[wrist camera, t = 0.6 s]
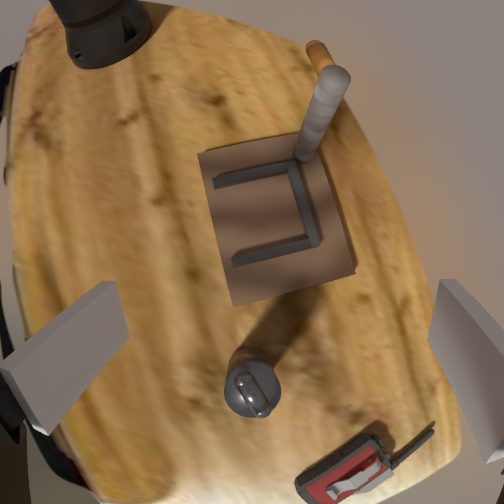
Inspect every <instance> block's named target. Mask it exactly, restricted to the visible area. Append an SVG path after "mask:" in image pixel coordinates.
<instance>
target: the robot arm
mask: <svg viewBox="0 0 504 504" xmlns="http://www.w3.org/2000/svg"><path fill="white" fill-rule="evenodd" d="M49 1H50V3H51V5H52V6H53V8H54V10H55V12H56V13H57V15H58V17H59V18H60V20H61V22H62V24H63V25H64V27H65V34H66V43H67V51H68V54H69V57H70V58H71V60H72V61H73V63H74V64H75V65H76V66H77V67H79V68H82V69H97V68H102V67H106V66H109V65H111V64H114V63H116V62H118V61H120V60H122V59H124V58H126V57H127V56H129V55H130V54H132V53H133V52H134V51H136V50H137V49H138V48H139V47H140V46H141V45H142V44H143V43H144V42H145V41H146V40H147V38H148V37H149V35H150V33H151V29H152V23H151V20H150V17H149V14H148V12H147V11H146V10H145V8H144V7H143V6H142V5H141V4H140V3H139V2H138V1H137V0H49ZM129 337H130V334H129V331H128V327H127V324H126V320H125V316H124V313H123V309H122V305H121V301H120V297H119V293H118V289H117V285H116V282H112V281H102V282H100V283H99V284H98V285H96V286H95V287H94V288H92V289H91V290H90V291H88V292H87V293H86V294H85V295H83V296H82V297H81V298H79V299H78V300H77V301H75V302H74V303H73V304H72V305H70V306H69V307H68V308H66V309H65V310H64V311H63V312H61V313H60V314H59V315H58V316H56V317H55V318H54V319H53V320H51V321H50V322H49V323H48V324H46V325H45V326H44V327H43V328H41V329H40V330H39V331H38V332H37V333H35V334H34V335H33V336H32V337H31V338H29V339H28V340H27V341H26V342H25V343H23V344H22V345H21V346H20V347H19V348H18V349H16V350H15V351H14V352H13V353H12V354H11V355H9V356H8V357H7V358H6V359H5V360H4V361H2V362H1V363H0V504H31V498H30V489H29V479H28V464H27V430H26V426H25V424H24V423H23V420H24V419H25V418H26V417H27V418H28V420H29V421H30V423H31V424H32V426H33V427H34V429H36V430H38V431H40V432H42V433H44V434H46V435H48V436H49V435H50V434H51V432H52V431H53V430H54V428H55V427H56V426H57V425H58V423H59V422H60V421H61V419H62V418H63V417H64V416H65V414H66V413H67V412H68V411H69V409H70V408H71V407H72V406H73V404H74V403H75V402H76V401H77V399H78V398H79V397H80V396H81V394H82V393H83V392H84V391H85V390H86V388H87V387H88V386H89V385H90V383H91V382H92V381H93V380H94V378H95V377H96V376H97V375H98V374H99V372H100V371H101V370H102V369H103V368H104V366H105V365H106V364H107V363H108V362H109V360H110V359H111V358H112V357H113V356H114V354H115V353H116V352H117V351H118V350H119V348H120V347H121V346H122V345H123V344H124V343H125V341H126V340H127V339H128V338H129ZM427 340H428V342H429V344H430V346H431V348H432V350H433V351H434V353H435V355H436V357H437V359H438V361H439V363H440V365H441V367H442V369H443V371H444V373H445V374H446V376H447V378H448V380H449V383H450V385H451V387H452V389H453V391H454V393H455V395H456V397H457V399H458V401H459V403H460V406H461V408H462V410H463V412H464V414H465V417H466V419H467V421H468V424H469V426H470V428H471V431H472V433H473V435H474V438H475V440H476V442H477V445H478V447H479V450H480V453H481V455H482V458H483V461H484V463H485V464H487V463H489V462H492V461H495V460H498V459H500V458H503V457H504V330H503V329H502V327H501V326H500V325H499V324H498V323H497V322H496V321H495V320H494V319H493V317H492V316H491V315H490V314H489V313H488V312H487V311H486V310H485V309H484V308H483V307H482V306H481V304H480V303H479V302H478V301H477V300H476V299H475V298H474V297H473V296H472V295H471V294H470V293H469V292H468V291H467V290H466V289H465V288H464V287H463V286H462V285H461V284H460V283H459V282H458V281H457V280H456V279H440V280H439V284H438V290H437V296H436V301H435V306H434V311H433V316H432V321H431V325H430V330H429V334H428V338H427ZM501 474H502V475H504V469H503V471H502V472H501ZM496 504H504V486H503V488H502V490H501V493H500V496H499V498H498V500H497V503H496Z"/></svg>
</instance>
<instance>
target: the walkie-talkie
mask: <svg viewBox="0 0 504 504" xmlns="http://www.w3.org/2000/svg"><path fill="white" fill-rule="evenodd" d="M433 434H434V430H433V429H430V430H429V431H428V432H426V433H425V434H424V435H423V436H422V437H421V438H420V439H419V440H417V441H416V442H415V443H414V444H413V445H412V446H411V447H409V448H408V449H407V450H406V451H405V452H403V453H402V454H401V455H400V456H398V457H397V458H396V459H393V460H392V461H391V462H389V461H388V460H389V458H390V457H391V456H390V455H389V454H388V453H385V454H383V452H382V451H381V450H380V448H382V447H383V446H384V443H383V442H382V441H381V440H380V438H379V437H378V436H377V435H374V436H373V439H372V438H371V437H370V436H369V435H368V434H367V433H363V434H361V435H360V436H359V437H357V438H356V439H355V440H353V441H352V442H350V443H349V444H348V445H346V446H345V447H343V448H342V449H340V450H339V451H338V452H336V453H335V454H334V455H332V456H331V457H330V458H328V459H327V460H324V461H323V462H321V463H320V464H319V465H317V466H316V467H313V468H312V469H310V470H309V471H306V473H303V474H302V475H301V476H299V477H296V479H295V482H294V484H295V487H296V490H297V493H298V494H299V496H300V497H301V498H302V499H303V500H305V501H306V502H307V503H308V504H337V503H339V502H340V501H342V500H344V499H346V498H347V497H349V496H350V495H354V494H359V493H364V492H369V491H371V490H373V489H374V488H376V487H377V486H378V485H380V484H381V483H383V482H384V481H385V480H387V479H388V478H390V477H392V476H393V475H394V473H393V472H392V470H394V469H395V468H396V467H397V466H399V464H400V463H401V462H402V461H404V460H405V459H406V458H407V457H408V456H410V455H411V454H412V453H413V452H414V451H416V450H417V449H418V448H419V447H420V446H421V445H422V444H424V443H425V442H426V441H427V440H428V439H429V438H430V437H431V436H432V435H433ZM379 447H380V448H379Z"/></svg>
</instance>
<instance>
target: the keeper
mask: <svg viewBox="0 0 504 504" xmlns="http://www.w3.org/2000/svg"><path fill="white" fill-rule="evenodd" d="M306 53H307V55H308V57H309V59H310V61H311V63H312V65H313V67H314V69H315V71H316V73H317V75H318V77H319V79H318V82H317V85H316V88H315V90H314V93H313V96H312V99H311V102H310V105H309V107H308V110H307V113H306V116H305V119H304V122H303V124H302V127H301V130H300V133H296V134H290V135H284V136H278V137H272V138H267V139H262V140H257V141H252V142H247V143H242V144H237V145H232V146H228V147H223V148H219V149H215V150H210V151H206V152H202V153H198V154H197V155H198V159H199V164H200V169H201V173H202V178H203V182H204V187H205V191H206V196H207V200H208V204H209V209H210V213H211V217H212V222H213V226H214V230H215V235H216V239H217V243H218V247H219V251H220V255H221V260H222V264H223V268H224V272H225V276H226V280H227V284H228V288H229V292H230V296H231V300H232V304H233V307H235V306H239V305H244V304H247V303H251V302H255V301H259V300H263V299H267V298H271V297H275V296H279V295H282V294H286V293H290V292H293V291H297V290H301V289H304V288H308V287H312V286H315V285H319V284H322V283H326V282H329V281H333V280H336V279H340V278H343V277H347V276H350V275H354V274H356V273H355V269H354V265H353V262H352V258H351V254H350V251H349V247H348V244H347V240H346V237H345V233H344V230H343V227H342V223H341V220H340V217H339V213H338V210H337V207H336V204H335V201H334V198H333V195H332V191H331V188H330V185H329V182H328V179H327V176H326V174H325V171H324V168H323V165H322V162H321V159H320V156H319V154H318V151H317V147H318V146H319V144H320V142H321V140H322V138H323V136H324V134H325V132H326V130H327V128H328V126H329V124H330V122H331V120H332V118H333V116H334V114H335V112H336V110H337V108H338V106H339V104H340V102H341V100H342V98H343V96H344V94H345V92H346V90H347V88H348V86H349V84H350V82H351V77H350V75H349V73H348V72H347V71H346V70H345V69H344V68H342V67H340V66H337V65H336V64H335V63H334V61H333V59H332V57H331V55H330V53H329V52H328V50H327V48H326V46H325V45H324V44H323V43H322V42H320V41H317V40H313V41H310V42H309V43H308V44H307V45H306Z"/></svg>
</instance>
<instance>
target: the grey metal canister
mask: <svg viewBox="0 0 504 504" xmlns="http://www.w3.org/2000/svg"><path fill="white" fill-rule="evenodd" d="M224 396H225V400H226V402H227V404H228V406H229V407H230V408H231V409H232V410H233V411H234V412H235V413H237V414H239V415H241V416H244V417H250V418H254V417H258V418H266V417H267V416H269V415H270V413H271V411H272V410H273V409H274V408H275V407H276V406H277V404H278V402H279V400H280V397H281V386H280V383H279V381H278V378H277V376H276V374H275V372H274V370H273V368H272V365H271V363H270V361H269V359H268V357H267V355H266V354H265V353H264V352H263V351H262V350H260V349H258V348H256V347H243V348H240V349H238V350H237V351H236V352H235V353H234V354H233V355H232V356H231V358H230V361H229V365H228V371H227V377H226V382H225V388H224Z"/></svg>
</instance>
